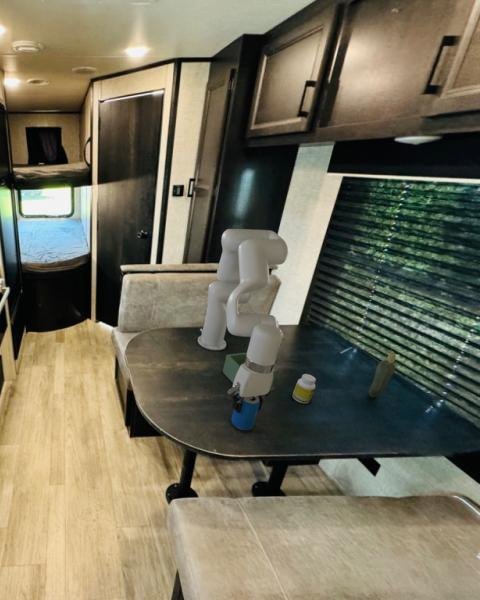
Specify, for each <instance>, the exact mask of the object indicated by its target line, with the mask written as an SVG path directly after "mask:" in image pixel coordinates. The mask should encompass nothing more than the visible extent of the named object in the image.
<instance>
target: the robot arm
mask: <svg viewBox="0 0 480 600" xmlns="http://www.w3.org/2000/svg"><path fill="white" fill-rule="evenodd" d="M220 243H221V247H222V252H221V256H220V260H219V262H218V267H217V271H216V278H217V280H215V281H212V282H211V283H210V284H209V285H208V289H207V305H206V306H207V307H206V312H205V317H204V322H203V327H202V328H200V329H199V332H201V335H199V336H198V338H197V343H198V344H199V345H200V346H201V347H203V348H204V349H207V350H210V351H222V350H224V349H226V348H227V342H226V341H225V336H226V331H228V333H229V334H231V335H232V336H236V337H246V338H250V339H249V343H248V346H247V347H248V348H247V351H246V353H247V354H246V358H245V362H244V364H242V365H241V366H240V368H239V370H238V372H237V374H236V377H235V380H234V383H232V387H231V388H230V389H229V390H227V394H228V395H229V396H230V397H231V398H232V399H233V401H232V405H231V406H232V409H233V411H234V410H235V411H236V412H237V413H240V411H241V407H242V403H241V402H242V401H243V399H244V398H245V397H252V396H258V397H259V401H260V405H259V408H258V411H261V409H262V407H263V406H262V405H263V403H264V401H265V400H266V399H267V397H268V396H269V395H270V394H271V392H273V391H274V390H275V388H276V387H275V386H273V385H271V384H272V380H273V368H275V363H277V357H278V354H279V352H280V351H279V350H280V347H281V344H282V340H283V337H284V333H283V331H282V330H281V328H280V326H279V325H280V323H279V321H278V319H277V318H276V317H275V316H274V315H272V314H267V313H257V312H243V311H239V304H241V305H244V304H247V303H249V302H250V301H251V299H252V297H253V294H254V292H256V291H259V290H262V289H264V288H266V287H268V286H269V284H270V281H271V279H270V270H269V269H270V266H269V265H273V266H279V265H283V264H284V263H285V262H286V261H287V259H288V257H289V248H288V244H287V242H286V241H285V240H284V238H282V237H281V236H280V235H279V234H278V233H276V232H275V231H273V230H271V229H270V230H268V229H251V228H250V229H248V228H247V229H246V228H227V229H226V230H225V231H223V233H222V235H221V240H220ZM238 395H240V398H238Z"/></svg>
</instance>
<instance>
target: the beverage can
mask: <svg viewBox="0 0 480 600" xmlns="http://www.w3.org/2000/svg"><path fill="white" fill-rule="evenodd" d="M238 398H240V395H238ZM241 403H242V407H241V411H240V413H237V412H236V411H235V410H234V409H233V412H232V414H231V419H230V420H231V423H232V424H233V425H234V427H235V428H237V429H239V430H241V431H250V430H252V429H253V428H254V424H255V422H256V417H257V414H258V411H259V410H258V408H259V405H260V401H259V397H258V396H252V397H245V398H244V399H243V401H242V402H241Z"/></svg>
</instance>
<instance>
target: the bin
mask: <svg viewBox="0 0 480 600" xmlns="http://www.w3.org/2000/svg"><path fill="white" fill-rule="evenodd" d="M246 354H247V352H239V353H231V354H226V355H225V361H224V364H223V369H222V373H223V375H225V376H226V378H227V379H229V381H230V382H231V383H232V384H233V383H234V380H235V377H236V374H237V372H238V370H239V368H240V366H241V365H242V364H244V362H245V358H246ZM277 372H278V370H277V369H276V368H275V367H273V380H272V384H271V385H272V386H273V385H274V382H275V379H276V376H277Z"/></svg>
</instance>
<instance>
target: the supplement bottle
mask: <svg viewBox="0 0 480 600" xmlns="http://www.w3.org/2000/svg"><path fill="white" fill-rule="evenodd" d="M316 380H317V379H316V377H314V376H313V375H311V374H308V373H304V374H302V376H301V378H299V379H297V382H296V385H295V387H294V389H293V392H292V394H291V395H292V398H293V399H294V400H295V401H296V402H298V403H300V404H308V403H310V401H311V399H312V397H313V395H314V392H315V390H316V384H315V383H316Z"/></svg>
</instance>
